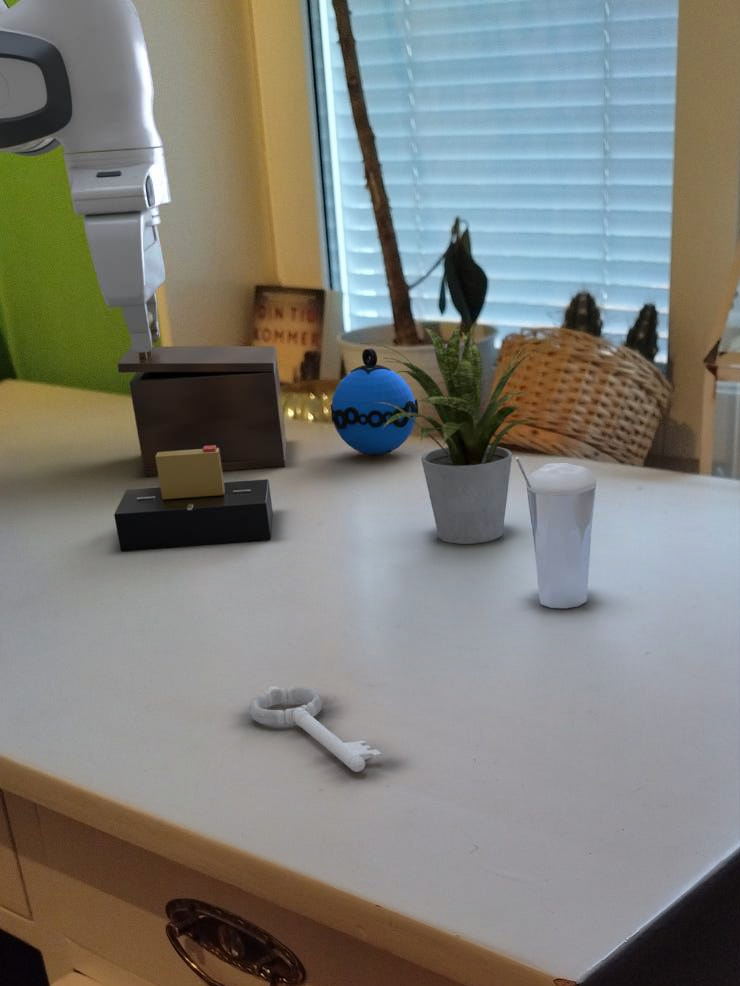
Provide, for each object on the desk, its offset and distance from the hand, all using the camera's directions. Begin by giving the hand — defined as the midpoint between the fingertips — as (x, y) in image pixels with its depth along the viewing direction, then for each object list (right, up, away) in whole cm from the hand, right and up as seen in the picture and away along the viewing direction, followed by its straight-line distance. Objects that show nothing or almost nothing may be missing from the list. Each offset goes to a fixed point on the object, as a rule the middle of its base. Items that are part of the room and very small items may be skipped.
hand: (147, 346), depth 127 cm
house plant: (+30, -23, -21) cm, 44 cm away
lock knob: (+9, -20, -19) cm, 29 cm away
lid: (+5, -1, +1) cm, 5 cm away
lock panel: (+9, -22, -18) cm, 30 cm away
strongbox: (+6, -9, +6) cm, 12 cm away
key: (+23, -43, -55) cm, 73 cm away
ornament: (+22, -9, +5) cm, 24 cm away
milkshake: (+37, -32, -37) cm, 62 cm away
